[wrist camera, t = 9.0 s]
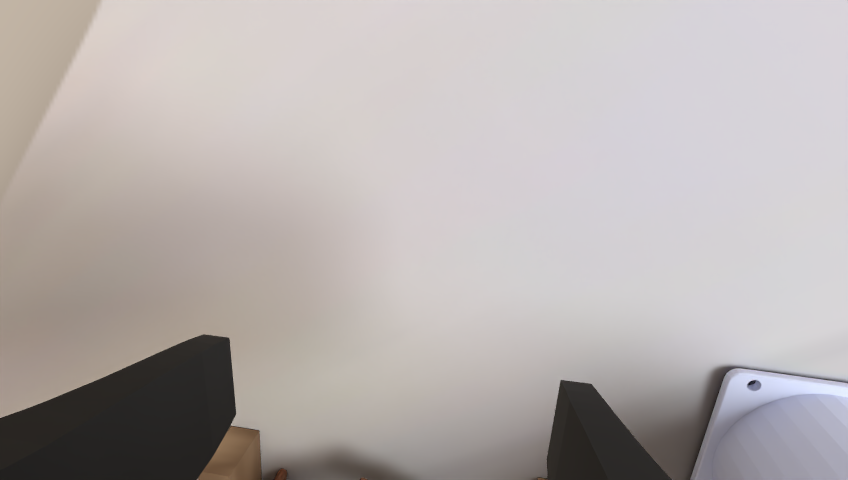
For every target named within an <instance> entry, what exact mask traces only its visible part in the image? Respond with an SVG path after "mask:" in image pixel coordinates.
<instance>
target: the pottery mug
mask: <svg viewBox="0 0 848 480" xmlns="http://www.w3.org/2000/svg"><path fill="white" fill-rule="evenodd" d="M286 477H287V471H286V470H285V469H281V470H279V471H278V473H277V475H276V477H275V479H274V480H286ZM360 480H367V479H365V478H361V479H360Z"/></svg>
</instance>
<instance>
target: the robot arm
mask: <svg viewBox="0 0 848 480" xmlns="http://www.w3.org/2000/svg"><path fill="white" fill-rule="evenodd" d="M752 380H756V382H755V383H754V384H752V385H747V384H748V383H749V382H750V381H752ZM235 415H236V407H235V396H234V385H233V374H232V363H231V351H230V340H229V338H227V337H219V336H211V335H201V336H198V337H195V338H192V339H190V340H187V341H185V342H182V343H180V344H178V345H175V346H173V347H171V348H169V349H166V350H164V351H162V352H160V353H157V354H155V355H153V356H151V357H148V358H146V359H144V360H142V361H140V362H137V363H135V364H133V365H131V366H128V367H126V368H124V369H122V370H119V371H117V372H115V373H113V374H110V375H108V376H106V377H104V378H101V379H99V380H97V381H94V382H92V383H89V384H87V385H84V386H82V387H80V388H77V389H75V390H72V391H70V392H68V393H65V394H63V395H60V396H58V397H56V398H53V399H51V400H48V401H46V402H43V403H41V404H38V405H35V406H33V407H30V408H27V409H25V410H22V411H19V412H16V413H14V414H11V415H8V416H5V417H2V418H0V480H197V478H198V477H199V476H200V474H201V473H202V471H203V470H204V469H205V467H206V466H207V464H208V463H209V461H210V460H211V459H212V457H213V456H214V454H215V452H216V450H217V449H218V447H219V445H220V443H221V442H222V440H223V438H224V436H225V434H226V433H227V431H228V429H229V427H230V425H231V423H232V421H233V419H234V417H235ZM547 471H548V480H671V478H670V477H669V476H668V475H667V474H666V473H665V472H664V471H663V470H662V469H661V468H660V466H659V465H658V464H657V463H656V462H655V461H654V460H653V459H652V458H651V456H650V455H649V454H648V453H647V452H646V451H645V449H644V448H643V447H642V446H641V445H640V444H639V442H638V441H637V440H636V439H635V438H634V436H633V435H632V434H631V433H630V432H629V430H628V429H627V428H626V427H625V425H624V424H623V423H622V422H621V420H620V419H619V418H618V417H617V415H616V414H615V413H614V412H613V410H612V409H611V408H610V407H609V405H608V404H607V403H606V402H605V400H604V399H603V398H602V397H601V395H600V394H599V393H598V392H597V390H596V389H595V388H594V387H593V385H592V384H587V383H579V382H572V381H564V380H561V382H560V387H559V393H558V399H557V404H556V410H555V416H554V422H553V427H552V433H551V439H550V445H549V450H548V456H547ZM690 480H848V383H843V382H836V381H829V380H822V379H814V378H807V377H800V376H792V375H785V374H778V373H771V372H763V371H756V370H749V369H742V368H735V369H732V370H730V371H729V372H727V373H726V375H725V377H724V379H723V382H722V385H721V388H720V391H719V394H718V397H717V400H716V403H715V406H714V409H713V413H712V416H711V419H710V422H709V425H708V428H707V431H706V434H705V437H704V440H703V443H702V446H701V449H700V452H699V455H698V458H697V461H696V464H695V467H694V470H693V473H692V476H691V479H690Z"/></svg>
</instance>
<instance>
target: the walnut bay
mask: <svg viewBox="0 0 848 480" xmlns="http://www.w3.org/2000/svg"><path fill="white" fill-rule="evenodd" d="M199 480H262V477H261V456H260V434H259V431H257V430H251V429H245V428H239V427H233V426H231V428H230V429H229V430H228V432H227V433H226V434H225V436H224V438H223V440H222V442H221V443H220V445H219V447H218V449H217V450H216V452H215V454H214V456H213V457H212V459H211V460H210V461H209V463H208V464H207V466H206V467H205V469H204V470H203V471H202V473H201V474H200V476H199ZM537 480H548V479H544V478H538V479H537Z"/></svg>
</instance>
